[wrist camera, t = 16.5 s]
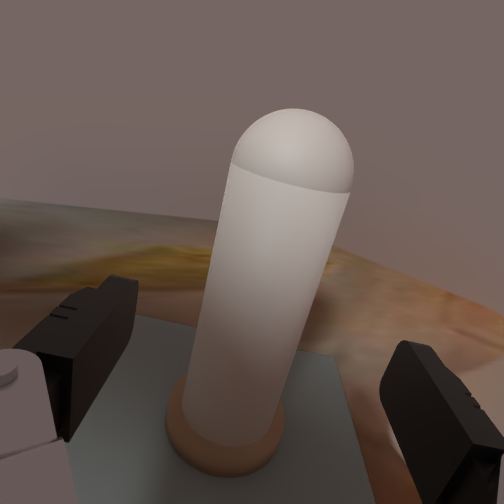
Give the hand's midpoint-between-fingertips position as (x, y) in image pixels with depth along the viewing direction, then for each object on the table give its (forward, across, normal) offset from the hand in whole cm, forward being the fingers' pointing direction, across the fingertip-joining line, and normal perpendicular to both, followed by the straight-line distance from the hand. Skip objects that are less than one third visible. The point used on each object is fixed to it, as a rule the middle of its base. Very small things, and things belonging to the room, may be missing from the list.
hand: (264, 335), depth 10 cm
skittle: (+6, 0, +10) cm, 11 cm away
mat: (+7, 0, +10) cm, 12 cm away
